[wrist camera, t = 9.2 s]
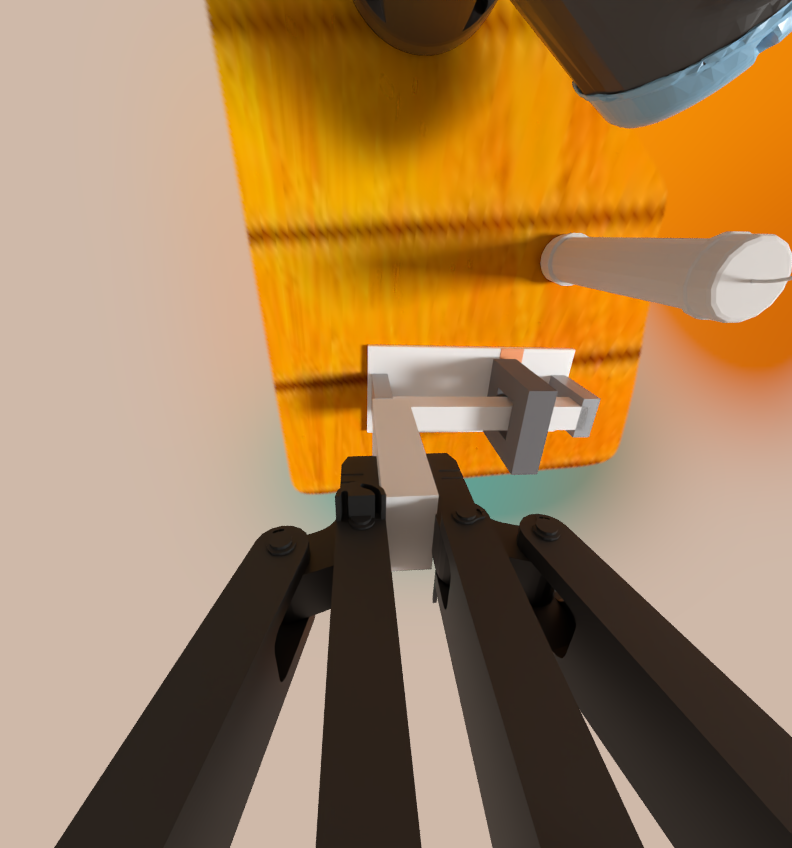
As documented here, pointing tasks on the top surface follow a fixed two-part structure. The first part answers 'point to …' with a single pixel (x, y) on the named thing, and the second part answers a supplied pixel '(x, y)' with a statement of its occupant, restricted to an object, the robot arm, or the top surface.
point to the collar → (521, 415)
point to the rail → (472, 386)
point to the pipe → (677, 270)
